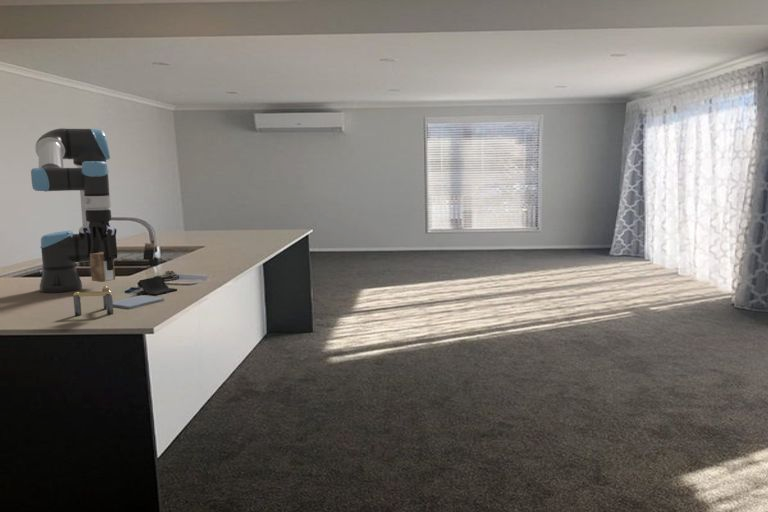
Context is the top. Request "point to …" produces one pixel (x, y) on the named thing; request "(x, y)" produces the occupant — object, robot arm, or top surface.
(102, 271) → the walnut block
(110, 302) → the grey and gold frame
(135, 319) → the top surface
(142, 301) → the pad
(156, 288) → the handheld gaming console
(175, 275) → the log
